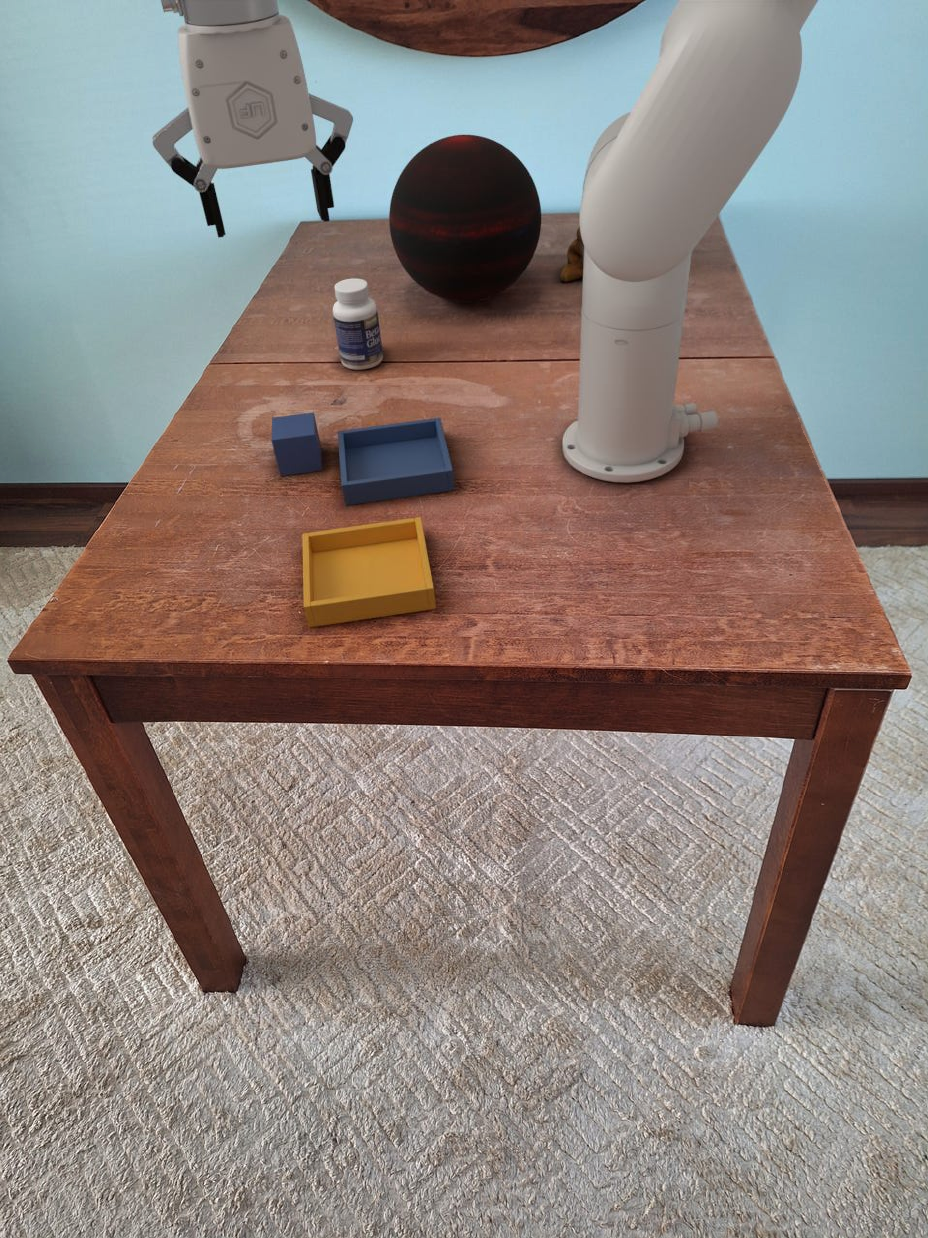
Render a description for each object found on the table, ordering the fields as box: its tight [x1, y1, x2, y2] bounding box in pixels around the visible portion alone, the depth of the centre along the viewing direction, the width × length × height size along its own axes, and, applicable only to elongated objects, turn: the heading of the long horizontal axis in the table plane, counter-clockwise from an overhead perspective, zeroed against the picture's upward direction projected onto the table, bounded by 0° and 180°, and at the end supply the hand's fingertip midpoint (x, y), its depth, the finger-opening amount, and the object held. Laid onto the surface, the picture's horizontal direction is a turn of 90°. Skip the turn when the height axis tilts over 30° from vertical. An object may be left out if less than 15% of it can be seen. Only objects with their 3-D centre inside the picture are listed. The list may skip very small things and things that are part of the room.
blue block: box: [270, 411, 323, 477], centre depth 92 cm, size 4×4×4 cm
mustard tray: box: [301, 516, 437, 628], centre depth 78 cm, size 11×10×2 cm
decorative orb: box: [388, 134, 542, 303], centre depth 114 cm, size 20×20×20 cm
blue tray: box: [337, 417, 456, 506], centre depth 91 cm, size 11×10×2 cm
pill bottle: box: [332, 277, 384, 371], centre depth 106 cm, size 5×5×10 cm
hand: (272, 224), depth 81 cm, fingers open, 9 cm apart
